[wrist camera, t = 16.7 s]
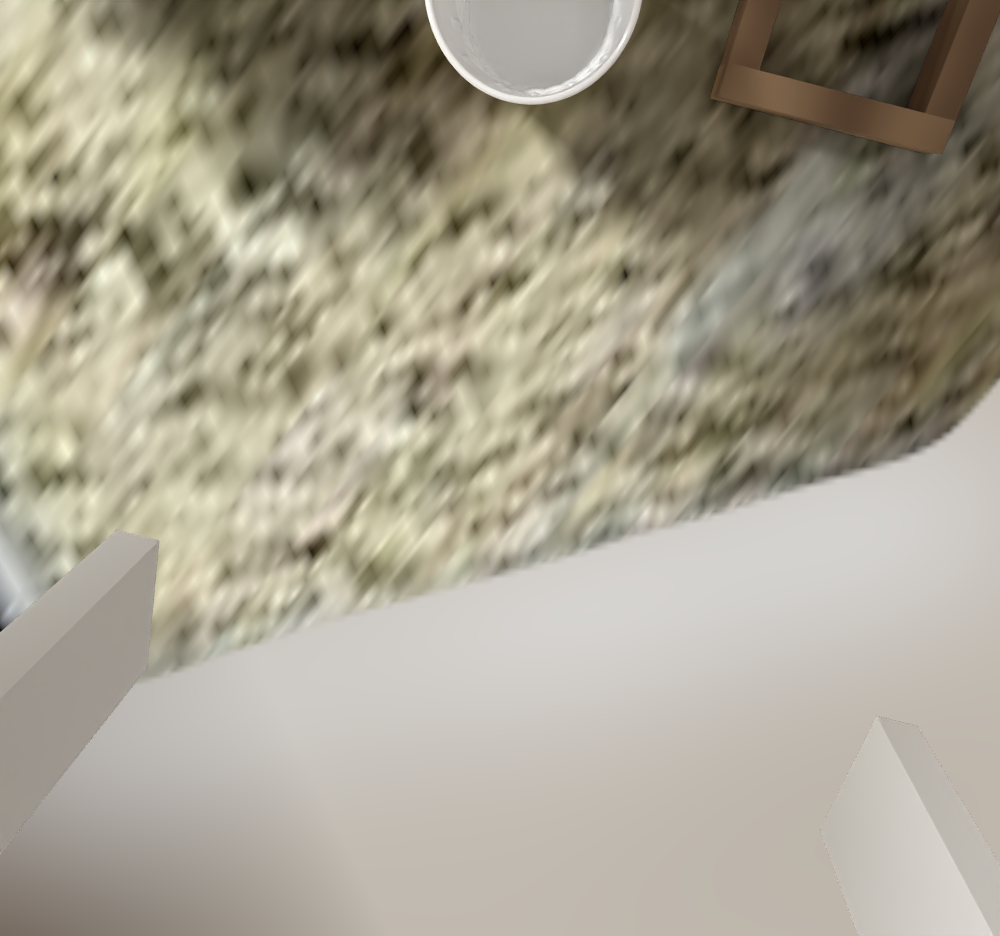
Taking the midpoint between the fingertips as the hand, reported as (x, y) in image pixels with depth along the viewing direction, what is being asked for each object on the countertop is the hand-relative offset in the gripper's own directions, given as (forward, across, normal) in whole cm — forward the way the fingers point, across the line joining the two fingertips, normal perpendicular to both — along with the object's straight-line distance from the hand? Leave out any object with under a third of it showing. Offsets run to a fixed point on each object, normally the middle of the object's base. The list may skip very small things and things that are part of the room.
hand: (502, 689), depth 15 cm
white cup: (+32, -4, +14) cm, 35 cm away
